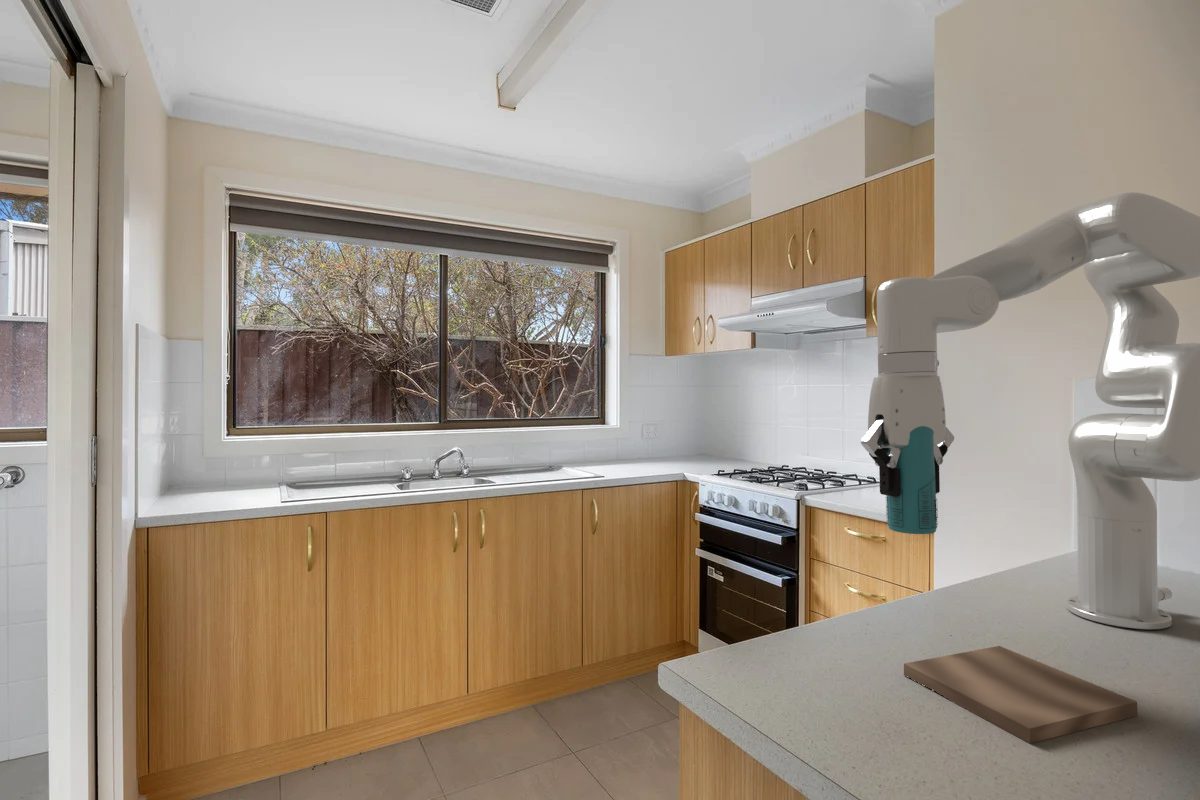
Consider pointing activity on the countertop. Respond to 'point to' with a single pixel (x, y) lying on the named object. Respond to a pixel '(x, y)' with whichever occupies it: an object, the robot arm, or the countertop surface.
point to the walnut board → (1020, 693)
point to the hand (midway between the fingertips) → (909, 492)
